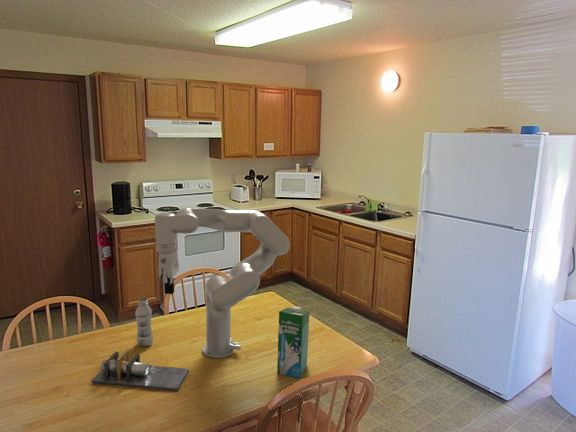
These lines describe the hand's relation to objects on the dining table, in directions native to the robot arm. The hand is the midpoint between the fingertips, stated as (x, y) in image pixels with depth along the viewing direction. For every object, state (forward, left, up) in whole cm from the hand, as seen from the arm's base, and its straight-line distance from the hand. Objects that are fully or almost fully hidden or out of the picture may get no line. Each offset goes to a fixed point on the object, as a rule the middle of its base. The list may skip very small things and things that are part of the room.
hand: (169, 293), depth 158 cm
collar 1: (+17, +13, -26) cm, 34 cm away
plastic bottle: (+14, -9, -28) cm, 32 cm away
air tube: (+12, +13, -26) cm, 32 cm away
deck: (+6, +13, -27) cm, 31 cm away
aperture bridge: (+12, +13, -26) cm, 32 cm away
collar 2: (+9, +13, -26) cm, 31 cm away
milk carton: (-48, 0, -28) cm, 55 cm away
